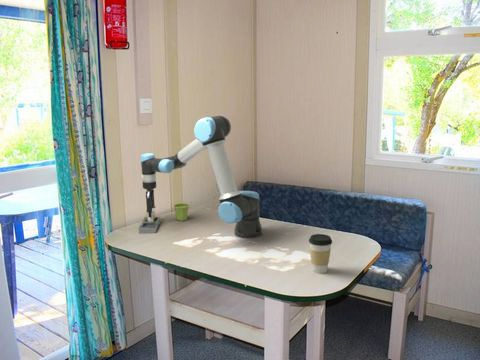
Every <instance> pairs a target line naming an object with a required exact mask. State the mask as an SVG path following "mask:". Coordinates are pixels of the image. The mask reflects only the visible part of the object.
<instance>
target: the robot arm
mask: <svg viewBox="0 0 480 360" xmlns="http://www.w3.org/2000/svg"><path fill="white" fill-rule="evenodd" d="M231 130H232V125H231V122H230V120H229V119H228V118H227V117H225V116H223V115H215V116H206V117H203V118H202V117H201V119H199V120H198V121H196V124H195V126H194V129H193V131H194V136H195V139H194V140H193V141H191V142H190V143H188V144H187V145H186V146H184V147H183V148H182V149H181V150H179V151H178V152H177V153H175V154H174V155H172V156H168V157H163V158H158V157H157V158H156V156H155V154H154V153H149V152H148V153H142V154H141V156H140V157H141V158H140V163H141V176H140V177H141V178H142V183H141V184H142V188H143V189H144V190H146V191H145V200H146V201H145V202H146V211H145V212H146V213H147V212H148V221H153V212H155V208H156V206H155V189H156V188H157V181H156V180H157V174H156V173H162V174H171V173H172V172H173V171H174V170H178V169H183V168H184V167H186V166H187V163H189V162H190V161H192V159H194V158H195V157H197V156H198V155H199V154H201V153H202V152H204V151H205V150H207V154H208V157H209V160H210V163H211V166H212V169H213V172H214V176H215V180H216V183H217V186H218V190H219V193H220V197H219V199H218V200H219V203H220V204H219V207H218V209H217V211H218V215H219V217H220V219H221V220H222V221H223V222H225V223H226V224H230V225H231V224H235V225H234V226H235V227H234V230H233V231H234V232H233V233H234V235H235V236H236V237H240V238H245V239H253V238H258V237H261V236H262V235H263V232H264V231H263V226H262V223H261V220H260V194H259V192H256V191H252V190H238V188H237V185H236V182H235V178H234V174H233V172H232V168H231V165H230V161H229V159H228V154H227V152H226V147H225V145H224V144H225V142H226V137H228V136H229V135H230V133H231Z"/></svg>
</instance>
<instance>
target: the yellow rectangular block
mask: <svg viewBox="0 0 480 360" xmlns="http://www.w3.org/2000/svg"><path fill="white" fill-rule="evenodd" d="M145 217H146V221H148V212H146V213H145ZM156 217H157V216H156V211H154V212H153V221H156Z"/></svg>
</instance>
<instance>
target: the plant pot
mask: <svg viewBox="0 0 480 360" xmlns="http://www.w3.org/2000/svg"><path fill="white" fill-rule="evenodd" d="M189 207H190V204H188V203H184V202H183V203H175V204H173V209H174V212H175V218H176V221H180V222H182V221H186V220H188V214H189V213H188V212H189Z"/></svg>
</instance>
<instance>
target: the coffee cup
mask: <svg viewBox="0 0 480 360" xmlns="http://www.w3.org/2000/svg"><path fill="white" fill-rule="evenodd" d="M308 243H309V253H310V262H311V269H312V272H313V273H316V274H326V273H327V272H328V266H329V264H330V263H329V261H330V256H331V247H332V244H333V240H332V237H331V236H330V235H328V234H324V233H315V234H311V235H310V237H309V239H308Z"/></svg>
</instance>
